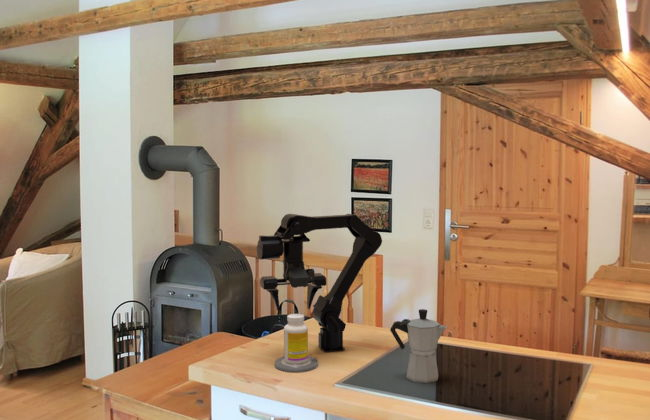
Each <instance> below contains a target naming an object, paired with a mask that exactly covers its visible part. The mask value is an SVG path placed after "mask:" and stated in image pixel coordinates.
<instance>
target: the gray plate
mask: <svg viewBox="0 0 650 420" xmlns="http://www.w3.org/2000/svg"><path fill="white" fill-rule="evenodd" d="M318 366H319V361H318V359H317V358H316V357H314V356H312V355H308V360H307V362H305V363H302V364H289V363H287V362H286V361H285V360H284V355H283V356H280V357H278V358H276V359H275V361H274V368H275V369H276V370H278V371H281V372H284V371H285V373H286V372H287V373H306V372H309V371H313V370H315V369H316V368H318Z"/></svg>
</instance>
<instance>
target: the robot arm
mask: <svg viewBox="0 0 650 420" xmlns="http://www.w3.org/2000/svg"><path fill="white" fill-rule="evenodd" d="M332 229H348V231H349V233H350V234H351V235H352V236H353V237H354V241H353V244H352V251H351V254H350V256H349V258H348V259H347V261H346V263H345V264H344V266H343V268H342V270H341V272H340V273H339V275H338V277H337V278H336V280H335V282H334V283H333V285H332V287H331V289H330V291H329V292H328V293H327V294H326V295H324V296H323V295H319V296H318V298H317V300H316V302H315V304H313V305H312V303H313V300H314V298H315V296H316V293H317V292H318V291H319V290H320V289H321V290H322V288H323V287H324V286H325V287H326V286H327V277H326V276H325V275H324V274H322V273H321V272H315V270H314V268H307V269H305V261H304V243H305V242H307V243H308V242H310V241H311V240H310V238H308V237H307V235H306V234H307V233H310V232H312V231H317V230H332ZM382 243H383V239H382V235H381V234H380V232H378V231H377V230H373V228H371V227H370V226H368V224H366V223H365V222H364V221H362V220H361V219H360V218H359V217H358V215H357V214H351V213H346V214H336V215H335V214H334V215H321V216H320V215H319V216H318V215H315V216H308V215H304V214H303V215H302V214H296V213H287V214H285V215H284V216H283V217H282V218H281V221H280V225H279V227H277V229H276V231H275V232H274V234H273V235H265V234H264V235H259V236H258V241H257V245H256V254H257V258H258V260H261V261H262V260H272V259H275V260H276V259H280V258H281V257H282V256H283V257H282V264H283V269H282V270H283V273H282V277H283V278H277V277H275V276H274V275H268V276H266V275H265V276H262V277H261V278H260V279H259V286H260V287H261V288H262V290H265V291H266V292H268V293H269V294H270V295H271V299H272V301H273V303H274V306H275V309H276V311H277V313H279V312H280V299H279V289H278V286H288V285H290V286H291V288H294V289H297V288H299V287H300V288H301V287H303V288H306V287H307V288H306V289H307V291H306V292H307V293H306V294H307V295H306V305H307V310H311V307H313V310H312V316H313V319H314V320H315V321H316V322H317V324H318V325H319V326H320V328H319V329H320V330H319V332H318V345H317V346H318V347H319V349H321V350H322V352H323V353H330V352H337V351H341V352H342V351H345V350H346V348H345V347H344V346H343V345H344V331H345V329H346V327H347V324H346V323H345V322H344V321H343V320H342V319H341V318H340V315H341V313H342V307H343V301H344V299H345V297H346V296H347V293H348V292H349V290H350V289H351V287H352V285H353V284H354V282H355V279H357V276H358V275H359V273H360V271H361V270H362V267H363V265H364V264H365V263H366V261H367V260H368V259H369V258H371V257H372V256H373V255H375V254H376V252H377V251H378V250H379V249H380V248H381V246H382Z"/></svg>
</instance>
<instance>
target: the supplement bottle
mask: <svg viewBox="0 0 650 420" xmlns="http://www.w3.org/2000/svg"><path fill="white" fill-rule="evenodd" d="M286 320H287V324H285V325H284V327H283V354H284V355H283V356H284V360H285V361H286V362H287V363H289V364H302V363H305V362H307V360H308V356H309V345H308V344H309V331H308V330H309V328H308V325H307V324H305V323H304V321H305V315H304V314H302V313H290V314H288V315H287V316H286Z"/></svg>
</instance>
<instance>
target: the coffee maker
mask: <svg viewBox="0 0 650 420" xmlns="http://www.w3.org/2000/svg"><path fill="white" fill-rule="evenodd" d="M418 315H419V318H414V319H409V318H404V319H402V320H401V321H399V320H397V321H393V323H392V324H391V327H390V329H389V331H390V332H391V334H392V336H393V338H394V339H395V341H396V342H397V345H398V346H399V347H400V349H401V351H403V350H404V349H405V348H406V346H405V344H404V343H403V340H402V339H401V337H400V336H399V334H398V332H397V331H396V330H400V331H401V332H404V333H406V334H407V340H408V341H407V342H408V347H410V351H409V352H410V353H409V358H408V365H407V369H406V377H405V378H406V379H408V380H409V381H411V382H413V383H418V384H419V383H421V384H423V383H424V384H430V383H434V382H438V381H439V380H438V379H439V370H438V364H437V357H436V352H435V350H436V349H437V348H438V343H439V341H440V338H441V336H442V334H443V333H444V332H445V330H446V329H448V326H445V325H443V324H440V323H439V322H438V321H436V320H433V319H428V318H427V315H428V309H424V308H422V309H418Z"/></svg>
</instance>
